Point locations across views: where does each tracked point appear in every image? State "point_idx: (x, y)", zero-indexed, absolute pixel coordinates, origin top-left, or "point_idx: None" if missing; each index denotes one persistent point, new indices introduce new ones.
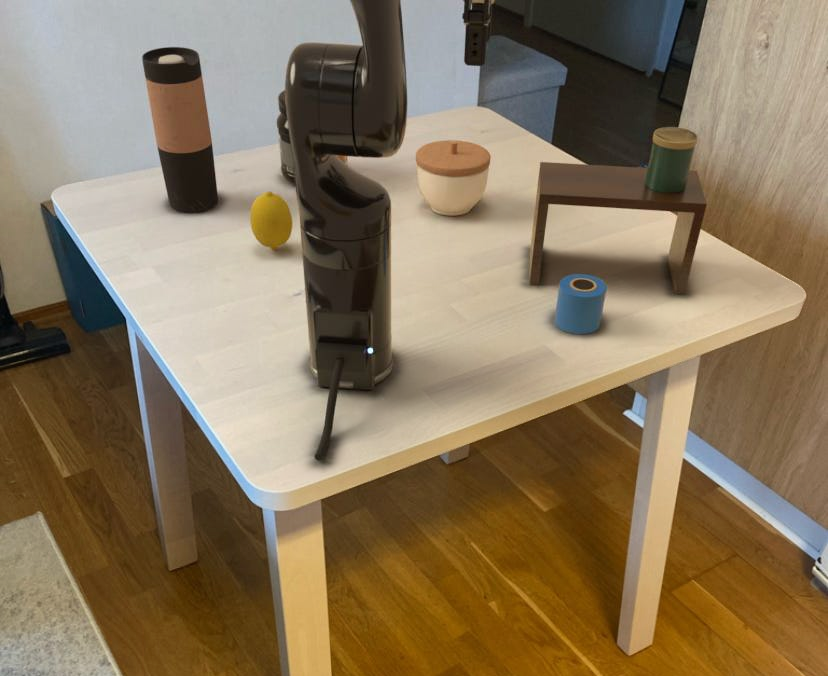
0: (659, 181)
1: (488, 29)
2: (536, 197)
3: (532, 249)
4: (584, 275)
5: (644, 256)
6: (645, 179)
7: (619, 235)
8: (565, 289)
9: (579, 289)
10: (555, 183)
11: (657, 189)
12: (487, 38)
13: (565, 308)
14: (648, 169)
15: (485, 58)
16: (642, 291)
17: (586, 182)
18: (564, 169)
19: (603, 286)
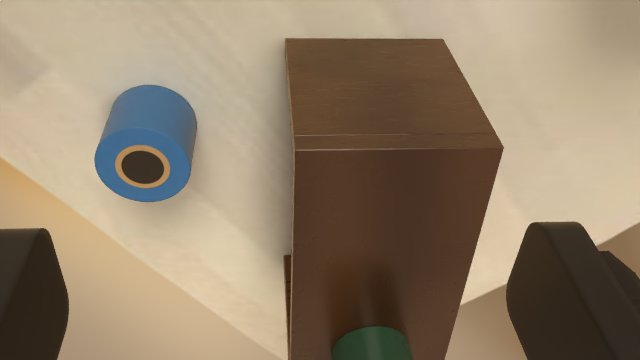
0: (339, 358)
1: (528, 347)
2: (460, 101)
3: (332, 65)
4: (183, 169)
5: None
6: (379, 331)
7: (493, 191)
8: (114, 137)
9: (119, 161)
10: (364, 181)
11: (337, 344)
12: (509, 304)
13: (108, 122)
14: (372, 352)
15: (61, 335)
16: (287, 216)
17: (373, 238)
18: (450, 198)
19: (148, 197)
